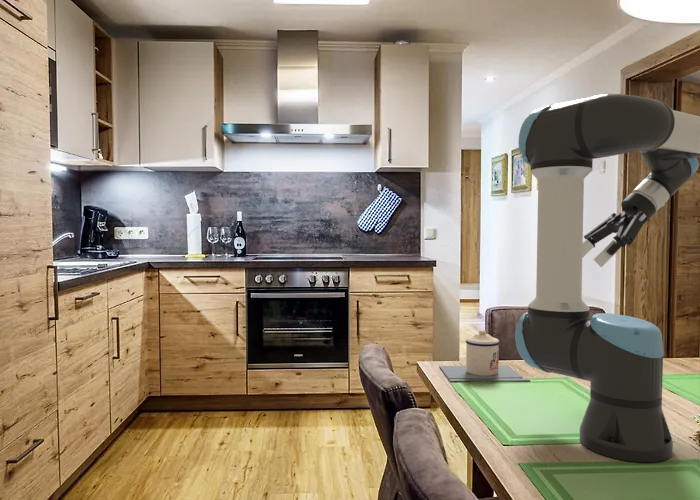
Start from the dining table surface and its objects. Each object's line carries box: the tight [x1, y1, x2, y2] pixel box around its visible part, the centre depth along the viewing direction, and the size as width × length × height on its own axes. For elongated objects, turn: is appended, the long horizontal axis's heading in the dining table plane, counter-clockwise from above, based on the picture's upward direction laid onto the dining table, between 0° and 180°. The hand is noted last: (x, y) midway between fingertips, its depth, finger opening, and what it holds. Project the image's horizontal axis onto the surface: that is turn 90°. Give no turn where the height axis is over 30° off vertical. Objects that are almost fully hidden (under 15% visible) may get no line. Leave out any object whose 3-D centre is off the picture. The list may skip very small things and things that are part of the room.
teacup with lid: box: [465, 329, 500, 376], centre depth 150 cm, size 12×9×12 cm
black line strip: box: [448, 377, 531, 383], centre depth 142 cm, size 2×21×1 cm, turn 91°
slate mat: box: [438, 365, 524, 380], centre depth 150 cm, size 13×20×1 cm, turn 91°
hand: (584, 261), depth 136 cm, fingers open, 13 cm apart
